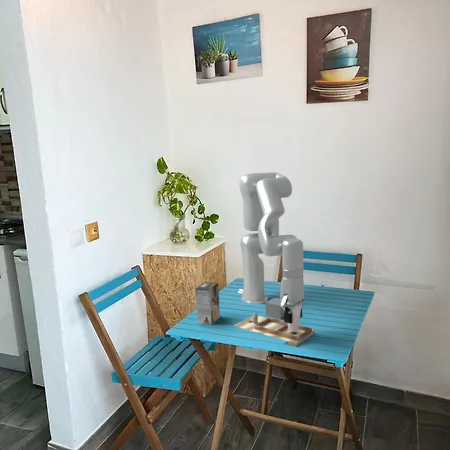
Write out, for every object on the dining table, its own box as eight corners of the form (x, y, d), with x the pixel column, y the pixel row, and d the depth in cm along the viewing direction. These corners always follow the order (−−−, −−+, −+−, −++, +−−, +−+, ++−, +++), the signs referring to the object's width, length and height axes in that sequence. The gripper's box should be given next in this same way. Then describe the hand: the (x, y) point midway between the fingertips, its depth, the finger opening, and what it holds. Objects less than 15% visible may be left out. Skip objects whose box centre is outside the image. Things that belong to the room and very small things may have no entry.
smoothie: (290, 334, 160) (290, 297, 157) (281, 327, 165) (280, 292, 163) (305, 330, 162) (305, 294, 160) (296, 324, 168) (295, 289, 165)
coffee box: (206, 318, 185) (204, 281, 183) (220, 319, 183) (218, 282, 180) (197, 326, 177) (195, 288, 174) (212, 328, 175) (210, 289, 172)
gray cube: (265, 318, 182) (265, 302, 181) (274, 313, 188) (274, 297, 186) (280, 322, 178) (280, 305, 177) (289, 316, 183) (289, 300, 182)
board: (233, 328, 173) (233, 316, 172) (254, 317, 184) (253, 305, 183) (295, 346, 156) (295, 332, 155) (314, 333, 166) (314, 320, 165)
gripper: (295, 266, 169) (296, 310, 172) (271, 277, 156) (271, 325, 159) (313, 268, 164) (313, 314, 167) (289, 280, 151) (289, 329, 154)
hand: (293, 319), depth 163 cm, fingers closed on smoothie, 6 cm apart
